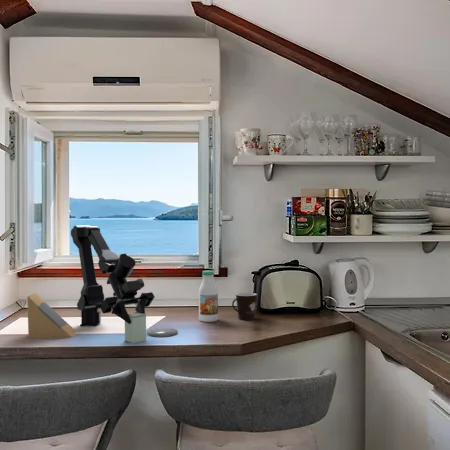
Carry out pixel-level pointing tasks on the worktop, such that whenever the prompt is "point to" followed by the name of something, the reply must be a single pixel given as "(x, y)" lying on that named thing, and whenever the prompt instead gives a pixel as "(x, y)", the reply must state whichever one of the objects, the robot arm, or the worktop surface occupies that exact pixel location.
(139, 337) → the pale green block
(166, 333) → the coaster
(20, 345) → the worktop surface
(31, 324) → the sandwich container
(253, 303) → the coffee mug
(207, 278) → the milk bottle
